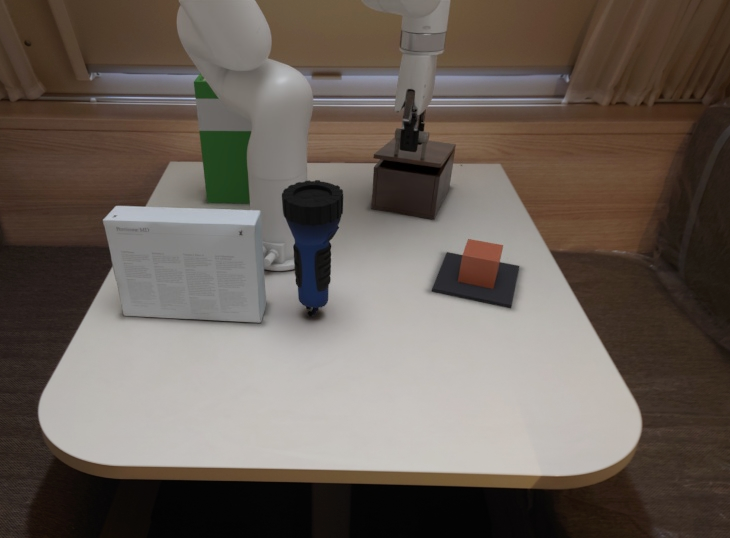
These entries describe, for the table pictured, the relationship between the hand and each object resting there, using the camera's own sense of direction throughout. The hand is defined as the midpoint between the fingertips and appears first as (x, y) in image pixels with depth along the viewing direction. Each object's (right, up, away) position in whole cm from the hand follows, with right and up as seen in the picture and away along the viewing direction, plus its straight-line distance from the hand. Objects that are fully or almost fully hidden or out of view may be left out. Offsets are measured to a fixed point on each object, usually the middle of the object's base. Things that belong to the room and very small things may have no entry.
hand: (410, 146), depth 107 cm
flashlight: (-19, -31, -22) cm, 42 cm away
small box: (+8, -25, -14) cm, 30 cm away
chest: (+2, -8, +11) cm, 14 cm away
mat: (+8, -25, -14) cm, 30 cm away
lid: (+2, 0, +5) cm, 6 cm away
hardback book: (-31, -7, +13) cm, 34 cm away
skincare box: (-36, -30, -20) cm, 51 cm away
